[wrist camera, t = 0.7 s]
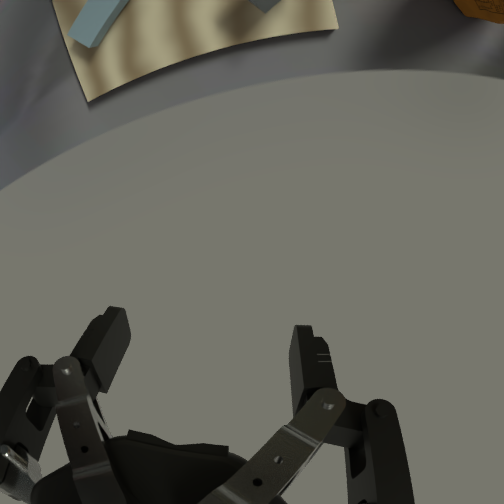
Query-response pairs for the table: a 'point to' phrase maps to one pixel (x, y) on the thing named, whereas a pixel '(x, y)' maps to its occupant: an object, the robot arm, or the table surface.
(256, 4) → the block
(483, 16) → the coffee package
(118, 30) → the pivot board
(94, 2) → the link
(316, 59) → the table surface
